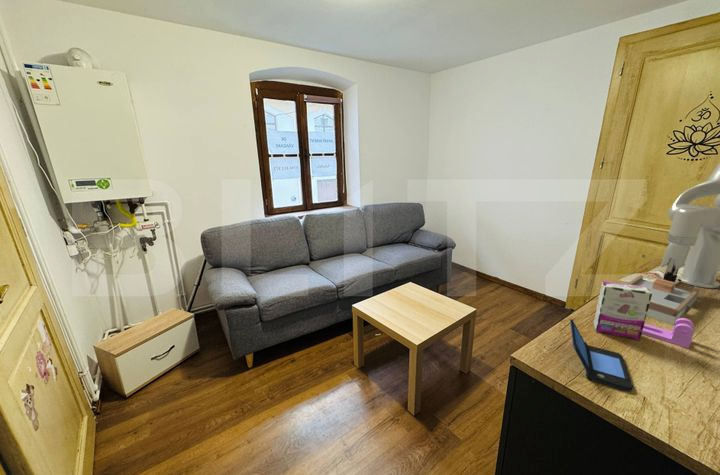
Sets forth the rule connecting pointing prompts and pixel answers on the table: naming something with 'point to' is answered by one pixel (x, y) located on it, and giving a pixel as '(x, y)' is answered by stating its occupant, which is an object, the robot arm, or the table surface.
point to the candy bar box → (622, 309)
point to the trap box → (667, 301)
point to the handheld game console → (601, 363)
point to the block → (664, 285)
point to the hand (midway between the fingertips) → (668, 282)
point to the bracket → (673, 332)
